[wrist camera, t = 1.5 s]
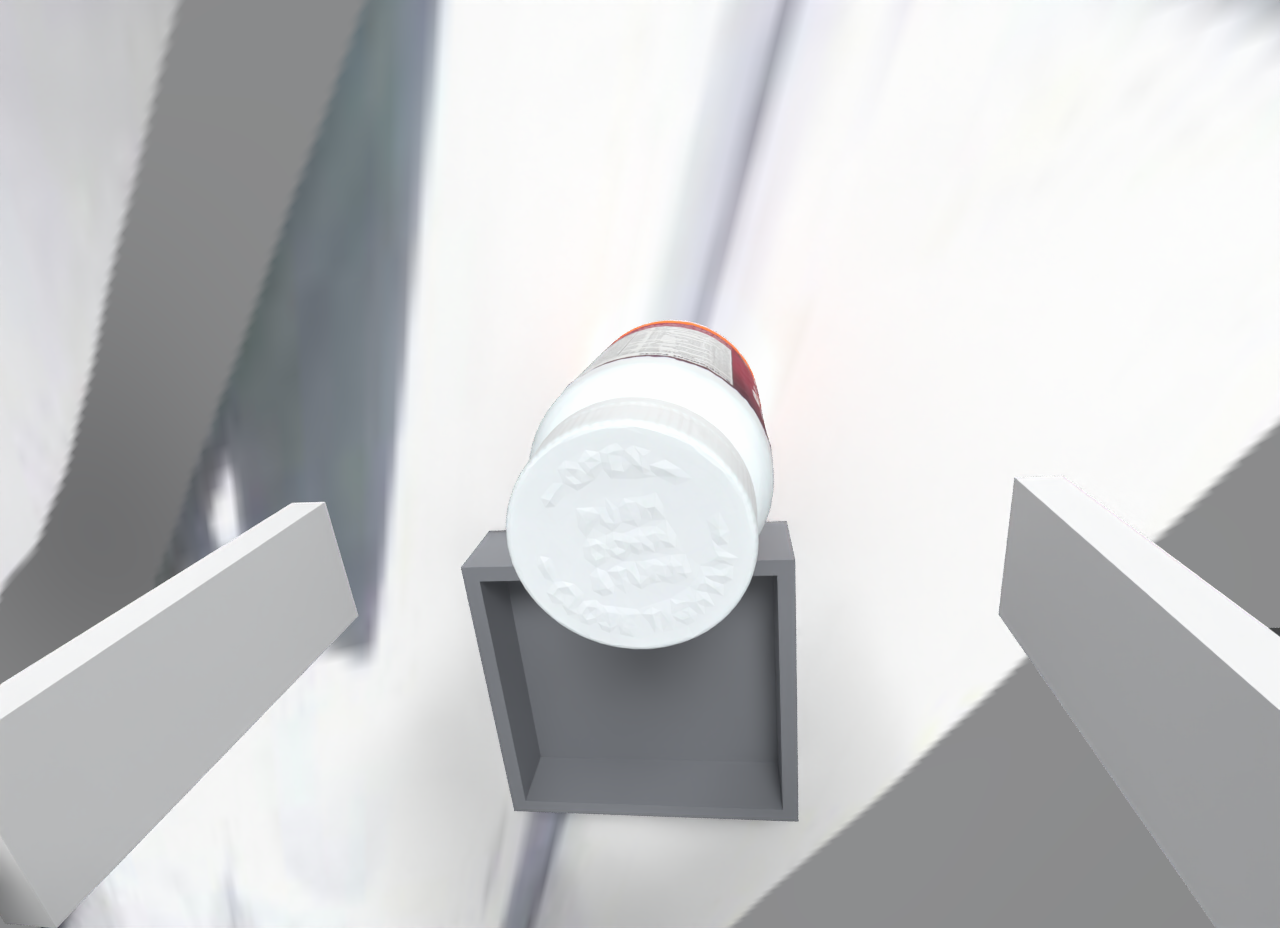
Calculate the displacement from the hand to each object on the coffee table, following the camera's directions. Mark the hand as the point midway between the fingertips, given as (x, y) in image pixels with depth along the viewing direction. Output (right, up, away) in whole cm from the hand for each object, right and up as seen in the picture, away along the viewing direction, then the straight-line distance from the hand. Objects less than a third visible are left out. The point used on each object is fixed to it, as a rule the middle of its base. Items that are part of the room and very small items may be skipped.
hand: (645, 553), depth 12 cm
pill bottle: (+1, +4, +11) cm, 12 cm away
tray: (0, -6, +15) cm, 16 cm away
